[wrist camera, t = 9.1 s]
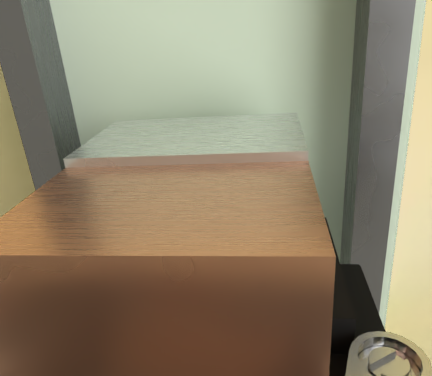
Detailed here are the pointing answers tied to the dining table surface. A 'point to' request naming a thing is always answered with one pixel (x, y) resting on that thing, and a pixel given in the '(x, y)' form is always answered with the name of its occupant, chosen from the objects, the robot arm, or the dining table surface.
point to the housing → (172, 256)
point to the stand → (232, 89)
